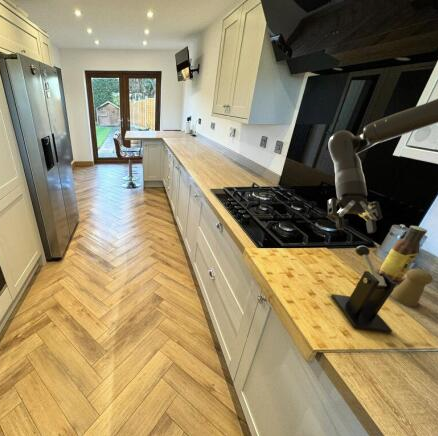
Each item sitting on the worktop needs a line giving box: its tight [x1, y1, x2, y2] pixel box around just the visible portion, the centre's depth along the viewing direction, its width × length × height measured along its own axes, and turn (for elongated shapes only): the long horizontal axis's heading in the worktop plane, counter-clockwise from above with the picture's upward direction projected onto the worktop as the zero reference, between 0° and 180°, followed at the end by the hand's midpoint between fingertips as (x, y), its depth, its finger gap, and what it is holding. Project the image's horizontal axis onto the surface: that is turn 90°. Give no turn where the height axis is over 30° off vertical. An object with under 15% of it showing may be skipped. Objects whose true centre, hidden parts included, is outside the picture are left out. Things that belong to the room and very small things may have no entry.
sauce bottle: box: [378, 225, 428, 282], centre depth 82 cm, size 7×6×20 cm
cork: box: [390, 268, 434, 307], centre depth 73 cm, size 6×6×11 cm
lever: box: [354, 245, 387, 289], centre depth 67 cm, size 13×3×3 cm, turn 170°
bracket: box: [330, 270, 398, 335], centre depth 66 cm, size 12×9×14 cm
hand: (356, 231), depth 74 cm, fingers open, 8 cm apart
